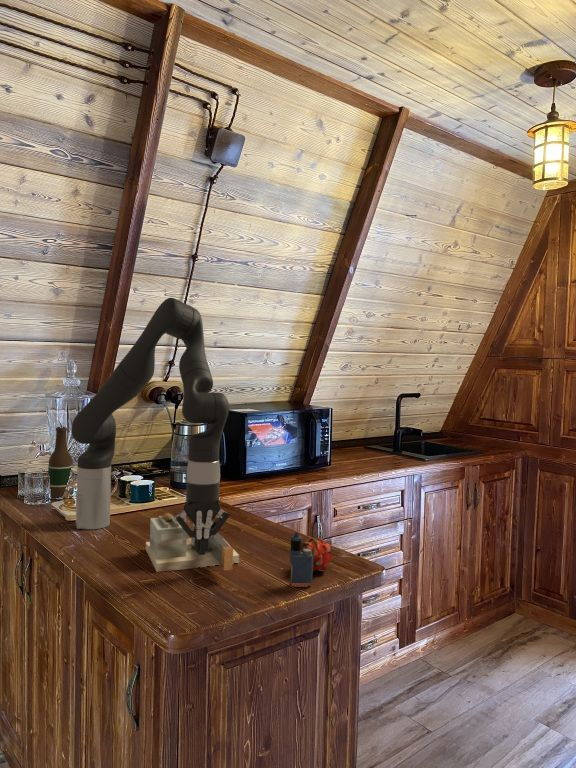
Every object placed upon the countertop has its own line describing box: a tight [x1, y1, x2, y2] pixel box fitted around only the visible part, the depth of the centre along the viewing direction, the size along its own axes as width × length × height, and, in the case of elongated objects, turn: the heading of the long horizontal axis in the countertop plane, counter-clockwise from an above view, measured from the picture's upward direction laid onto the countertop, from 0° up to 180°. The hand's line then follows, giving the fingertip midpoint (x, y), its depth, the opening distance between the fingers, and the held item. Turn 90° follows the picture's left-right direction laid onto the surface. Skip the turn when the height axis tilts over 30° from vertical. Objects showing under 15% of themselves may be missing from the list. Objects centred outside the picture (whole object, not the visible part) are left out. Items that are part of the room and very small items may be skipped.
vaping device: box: [289, 531, 314, 584], centre depth 132 cm, size 3×5×12 cm, turn 95°
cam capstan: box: [190, 520, 234, 571], centre depth 143 cm, size 22×8×8 cm, turn 23°
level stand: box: [145, 512, 240, 573], centre depth 148 cm, size 20×16×11 cm
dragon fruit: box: [301, 537, 333, 571], centre depth 142 cm, size 8×8×12 cm
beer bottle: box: [47, 426, 74, 498], centre depth 199 cm, size 8×8×24 cm
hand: (200, 553), depth 136 cm, fingers closed
